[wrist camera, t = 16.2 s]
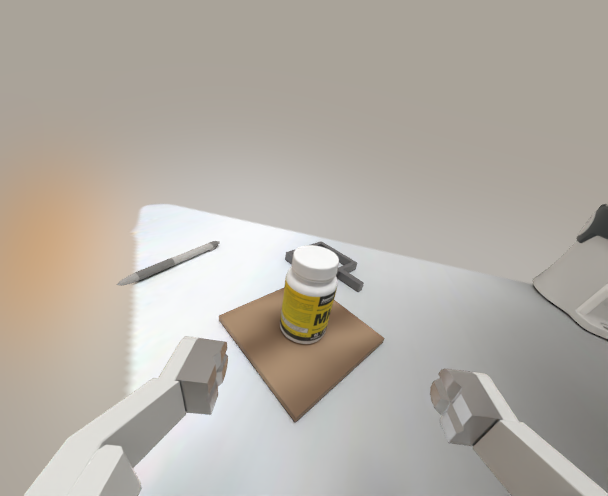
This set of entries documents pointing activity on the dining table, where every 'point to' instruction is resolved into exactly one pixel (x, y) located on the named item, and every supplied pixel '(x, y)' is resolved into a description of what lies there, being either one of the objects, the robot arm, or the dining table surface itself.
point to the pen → (167, 263)
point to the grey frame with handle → (343, 270)
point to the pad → (299, 351)
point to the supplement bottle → (309, 294)
